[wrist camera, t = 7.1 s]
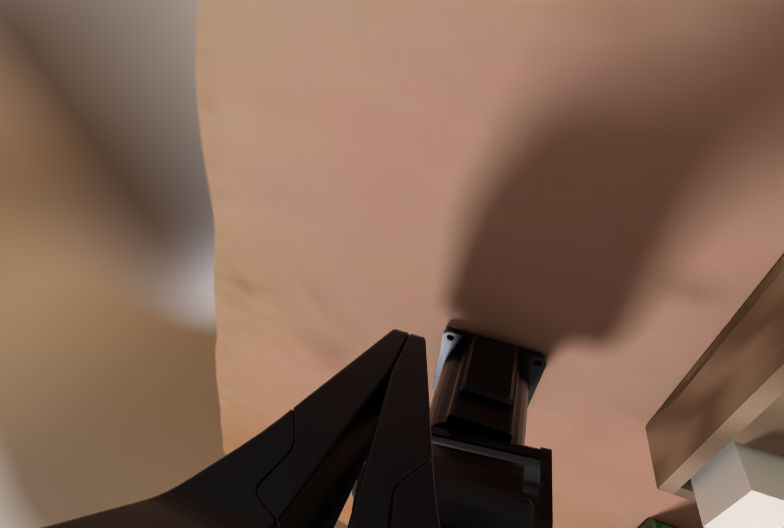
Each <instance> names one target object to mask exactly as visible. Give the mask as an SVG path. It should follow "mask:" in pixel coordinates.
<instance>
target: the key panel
mask: <svg viewBox="0 0 784 528" xmlns="http://www.w3.org/2000/svg"><path fill="white" fill-rule="evenodd" d="M646 432H647V437H648V442H649V448H650V453H651V458H652V463H653V469H654V474H655V479H656V484H657V489H659V490H662V491H665V492H668V493H671V494H674V495H677V496H680V497H683V498H686V499H689V500H692V501H695V502H696V498H695V495H694V491H693V487H692V483H691V479H690V478H691V477H693V476H694V475H695V474H696V473H697V472H698V471H699V470H700V469H701V468H702V467H703V466H704V465H705V464H707V463H708V462H709V461H710V460H711V459H712V458H713V457H714V456H715V455H716V454H717V453H718V452H720V451H721V450H722V449H723V448H724V447H725V446H726V445H727V444H728V443H729V442H730V441H734V442H738V443H741V444H744V445H748V446H751V447H754V448H758V449H761V450H764V451H768V452H771V453H774V454H778V455H781V456H784V254H783V255H782V257H781V258H780V259H779V260H778V262H777V263H776V264H775V265H774V267H773V268H772V269H771V270H770V272H769V273H768V274H767V275H766V277H765V278H764V279H763V280H762V282H761V283H760V284H759V285H758V287H757V288H756V289H755V290H754V292H753V293H752V294H751V295H750V297H749V298H748V299H747V300H746V302H745V303H744V304H743V305H742V307H741V308H740V309H739V310H738V312H737V313H736V314H735V315H734V317H733V318H732V319H731V320H730V322H729V323H728V324H727V325H726V327H725V328H724V329H723V330H722V332H721V333H720V334H719V335H718V337H717V338H716V339H715V340H714V342H713V343H712V344H711V345H710V347H709V348H708V349H707V350H706V352H705V353H704V354H703V355H702V357H701V358H700V359H699V360H698V362H697V363H696V364H695V365H694V367H693V368H692V369H691V370H690V372H689V373H688V374H687V375H686V377H685V378H684V379H683V380H682V382H681V383H680V384H679V385H678V387H677V388H676V389H675V390H674V392H673V393H672V394H671V395H670V397H669V398H668V399H667V400H666V402H665V403H664V404H663V405H662V407H661V408H660V409H659V410H658V412H657V413H656V414H655V415H654V417H653V418H652V419H651V420H650V422H649V423H648V424H647V425H646Z"/></svg>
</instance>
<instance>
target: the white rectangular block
mask: <svg viewBox="0 0 784 528" xmlns="http://www.w3.org/2000/svg"><path fill="white" fill-rule="evenodd" d="M690 479H691V483H692V487H693V491H694V495H695V498H696V502H697V506H698V510H699V514H700V518H701V521H702V525H703V527H704V528H784V456H781V455H778V454H774V453H771V452H768V451H764V450H761V449H758V448H754V447H751V446H748V445H744V444H741V443H738V442H734V441H730V442H729V443H728V444H727V445H726V446H725V447H724V448H723V449H722V450H721V451H720V452H718V453H717V454H716V455H715V456H714V457H713V458H712V459H711V460H710V461H709V462H708V463H707V464H705V465H704V466H703V467H702V468H701V469H700V470H699V471H698V472H697V473H696V474H695V475H694V476H693V477H691V478H690Z"/></svg>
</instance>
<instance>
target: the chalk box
mask: <svg viewBox="0 0 784 528" xmlns="http://www.w3.org/2000/svg"><path fill="white" fill-rule="evenodd" d="M640 528H674V527H671V526H668V525H666V524H663V523H660V522H657V521H655V520H653V519H651V518H649V519H648V520H647V521H646V522H645V523H644V524H643V525H642V526H641V527H640Z"/></svg>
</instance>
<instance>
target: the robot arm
mask: <svg viewBox="0 0 784 528" xmlns="http://www.w3.org/2000/svg"><path fill="white" fill-rule="evenodd" d="M450 335H452V336H450ZM536 360H539V361H536ZM546 362H547V358H546V356H545V355H544V354H542V353H539V352H535V351H532V350H528V349H525V348H521V347H518V346H514V345H510V344H507V343H503V342H500V341H496V340H493V339H489V338H486V337H482V336H479V335H475V334H472V333H468V332H464V331H461V330H457V329H454V328H447V329H445V331H444V334H443V338H442V343H441V348H440V353H439V359H438V364H437V369H436V374H435V379H434V385H433V390H434V391H435V393H434V397H433V400H432V403H431V407H430V406H429V390H428V374H427V358H426V342H425V338H424V337H421V336H417V335H414V334H410V335H409V334H408V333H407V332H404V331H400V330H397V329H394V330H392V331H391V332H389V333H388V334H387V335H386V336H384V337H383V338H382V339H380V340H379V341H378V342H377V343H375V344H374V345H373V346H372V347H370V348H369V349H368V350H366V351H365V352H364V353H363V354H361V355H360V356H359V357H358V358H356V359H355V360H354V361H352V362H351V363H350V364H349V365H347V366H346V367H345V368H344V369H342V370H341V371H340V372H338V373H337V374H336V375H335V376H333V377H332V378H331V379H330V380H328V381H327V382H326V383H324V384H323V385H322V386H321V387H319V388H318V389H317V390H316V391H314V392H313V393H312V394H310V395H309V396H308V397H307V398H305V399H304V400H303V401H302V402H300V403H299V404H298V405H296V406H295V407H294V409H293V410H290V411H289V412H287V413H286V414H285V415H284V416H282V417H281V418H280V419H278V420H277V421H276V422H274V423H273V424H272V425H270V426H269V427H268V428H266V429H265V430H264V431H262V432H261V433H260V434H258V435H257V436H255V437H254V438H252V439H251V440H249V441H248V442H246V443H245V444H243V445H242V446H240V447H239V448H237V449H235V450H234V451H232V452H231V453H229V454H227V455H226V456H224V457H223V458H221V459H220V460H218V461H216V462H215V463H213V464H212V465H210V466H209V467H207V468H205V469H204V470H202V471H201V472H199V473H197V474H196V475H194V476H193V477H191V478H190V479H188V480H187V481H185V482H183V483H181V484H180V485H178V486H176V487H174V488H172V489H171V490H169V491H166V492H164V493H162V494H160V495H157V496H154V497H152V498H149V499H146V500H142V501H138V502H135V503H131V504H128V505H124V506H120V507H116V508H113V509H109V510H105V511H102V512H98V513H94V514H90V515H87V516H83V517H79V518H76V519H72V520H68V521H65V522H61V523H57V524H54V525H50V526H46V527H42V528H334V526H335V524H336V522H337V520H338V518H339V516H340V514H341V511H342V509H343V507H344V505H345V503H346V501H347V499H348V497H349V495H350V493H351V491H352V495H353V498H354V500H353V507H352V513H351V517H350V521H349V524H348V528H552V524H553V512H552V450H551V449H546V448H542V447H541V449H538V448H533V447H529V446H524V445H525V432H526V419H527V407H528V405H529V403H530V400H531V398H532V396H533V394H534V391H535V389H536V387H537V385H538V383H539V380H540V378H541V376H542V374H543V371H544V369H545V367H546ZM366 459H367V460H366ZM365 461H366V463H365ZM364 463H365V464H364ZM356 480H357V482H356ZM355 482H356V483H355ZM352 488H353V490H352Z"/></svg>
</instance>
